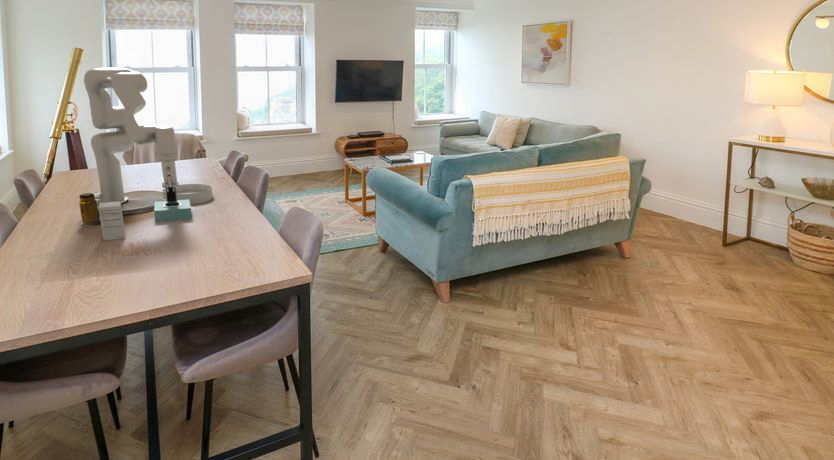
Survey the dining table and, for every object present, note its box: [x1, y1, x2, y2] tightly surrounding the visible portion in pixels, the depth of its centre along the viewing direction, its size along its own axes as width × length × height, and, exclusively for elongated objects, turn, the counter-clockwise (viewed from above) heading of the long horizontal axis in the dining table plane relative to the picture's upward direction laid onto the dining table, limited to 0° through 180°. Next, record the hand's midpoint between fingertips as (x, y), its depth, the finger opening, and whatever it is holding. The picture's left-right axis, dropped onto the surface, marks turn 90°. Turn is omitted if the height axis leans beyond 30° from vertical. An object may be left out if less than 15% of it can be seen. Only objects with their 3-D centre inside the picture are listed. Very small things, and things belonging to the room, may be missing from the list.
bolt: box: [161, 181, 180, 206], centre depth 248 cm, size 6×6×12 cm
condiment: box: [78, 192, 101, 227], centre depth 236 cm, size 7×8×12 cm
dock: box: [153, 199, 193, 222], centre depth 250 cm, size 14×16×5 cm
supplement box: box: [98, 202, 126, 241], centre depth 219 cm, size 7×7×13 cm
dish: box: [162, 183, 214, 205], centre depth 278 cm, size 22×22×5 cm
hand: (171, 199), depth 249 cm, fingers closed on bolt, 4 cm apart
